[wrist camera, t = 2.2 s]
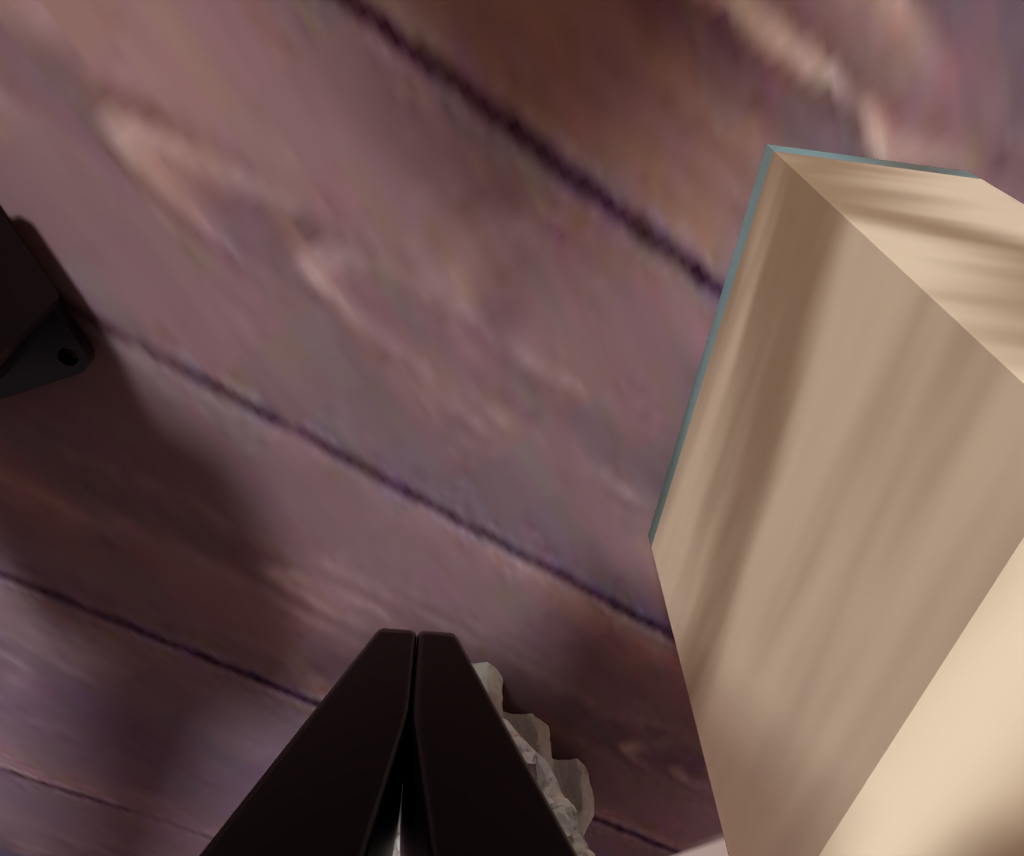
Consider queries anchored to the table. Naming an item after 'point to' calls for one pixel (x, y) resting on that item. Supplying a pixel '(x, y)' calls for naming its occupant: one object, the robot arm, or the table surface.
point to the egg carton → (543, 767)
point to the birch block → (857, 516)
